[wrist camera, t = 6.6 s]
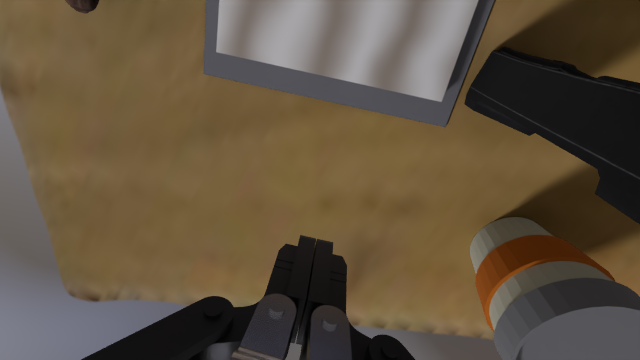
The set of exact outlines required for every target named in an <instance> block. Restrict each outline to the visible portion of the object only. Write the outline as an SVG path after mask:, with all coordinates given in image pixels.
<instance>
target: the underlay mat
mask: <svg viewBox="0 0 640 360" xmlns="http://www.w3.org/2000/svg"><path fill="white" fill-rule="evenodd" d="M493 3H494V0H478V3H477V6H476V8H475V11H474V14H473V17H472V19H471V22H470V25H469V28H468V30H467V33H466V36H465V39H464V42H463V44H462V47H461V50H460V53H459V55H458V58H457V61H456V64H455V66H454V69H453V72H452V75H451V77H450V80H449V83H448V86H447V88H446V91H445V94H444V97H443V99H442V102H439V101H434V100H430V99H425V98H421V97H416V96H412V95H407V94H403V93H398V92H394V91H389V90H385V89H380V88H376V87H371V86H367V85H362V84H358V83H353V82H349V81H344V80H340V79H335V78H331V77H326V76H322V75H317V74H313V73H308V72H304V71H299V70H295V69H290V68H286V67H281V66H277V65H272V64H268V63H263V62H259V61H254V60H250V59H245V58H241V57H236V56H232V55H227V54H223V53H218V52H216V47H217V31H218V14H219V0H206V24H205V51H204V74H206V75H211V76H215V77H220V78H225V79H229V80H234V81H238V82H243V83H247V84H252V85H256V86H261V87H265V88H270V89H274V90H279V91H283V92H288V93H293V94H297V95H302V96H306V97H311V98H315V99H320V100H324V101H329V102H333V103H338V104H342V105H347V106H351V107H356V108H361V109H365V110H370V111H374V112H379V113H383V114H388V115H392V116H397V117H401V118H406V119H410V120H415V121H419V122H424V123H429V124H433V125H438V126H442V127H445V126H446V124H447V121H448V119H449V116H450V114H451V111H452V108H453V106H454V103H455V101H456V98H457V95H458V93H459V90H460V88H461V85H462V83H463V80H464V77H465V75H466V72H467V70H468V67H469V64H470V62H471V59H472V57H473V54H474V52H475V49H476V46H477V44H478V41H479V39H480V36H481V33H482V31H483V28H484V26H485V23H486V21H487V18H488V15H489V13H490V10H491V8H492V5H493Z"/></svg>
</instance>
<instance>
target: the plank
mask: <svg viewBox="0 0 640 360" xmlns="http://www.w3.org/2000/svg"><path fill="white" fill-rule="evenodd" d="M477 3H478V0H219V14H218V31H217V47H216V52H218V53H223V54H227V55H232V56H236V57H241V58H245V59H250V60H254V61H259V62H263V63H268V64H272V65H277V66H281V67H286V68H290V69H295V70H299V71H304V72H308V73H313V74H317V75H322V76H326V77H331V78H335V79H340V80H344V81H349V82H353V83H358V84H362V85H367V86H371V87H376V88H380V89H385V90H389V91H394V92H398V93H403V94H407V95H412V96H416V97H421V98H425V99H430V100H434V101H439V102H442V99H443V97H444V94H445V91H446V88H447V86H448V83H449V80H450V77H451V75H452V72H453V69H454V66H455V64H456V61H457V58H458V55H459V53H460V50H461V47H462V44H463V42H464V39H465V36H466V33H467V30H468V28H469V25H470V22H471V19H472V17H473V14H474V11H475V8H476V6H477Z"/></svg>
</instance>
